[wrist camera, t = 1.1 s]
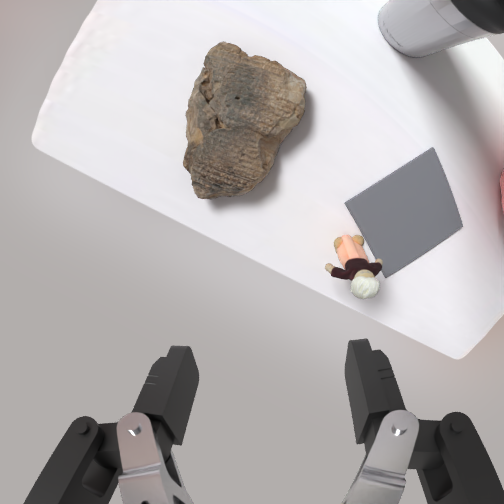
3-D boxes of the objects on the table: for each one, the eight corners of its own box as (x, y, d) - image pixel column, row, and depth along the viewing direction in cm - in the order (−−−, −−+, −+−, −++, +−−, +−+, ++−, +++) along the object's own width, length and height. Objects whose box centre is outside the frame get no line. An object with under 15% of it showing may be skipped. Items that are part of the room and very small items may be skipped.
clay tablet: (254, 213, 40) (318, 82, 31) (250, 225, 35) (323, 76, 27) (163, 174, 39) (218, 43, 30) (149, 181, 34) (208, 33, 26)
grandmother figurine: (367, 226, 39) (400, 267, 27) (371, 249, 40) (401, 297, 29) (316, 239, 40) (331, 287, 29) (322, 263, 42) (337, 315, 30)
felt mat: (432, 147, 33) (433, 147, 32) (461, 225, 37) (463, 226, 37) (344, 202, 38) (345, 203, 37) (384, 276, 42) (385, 277, 41)
